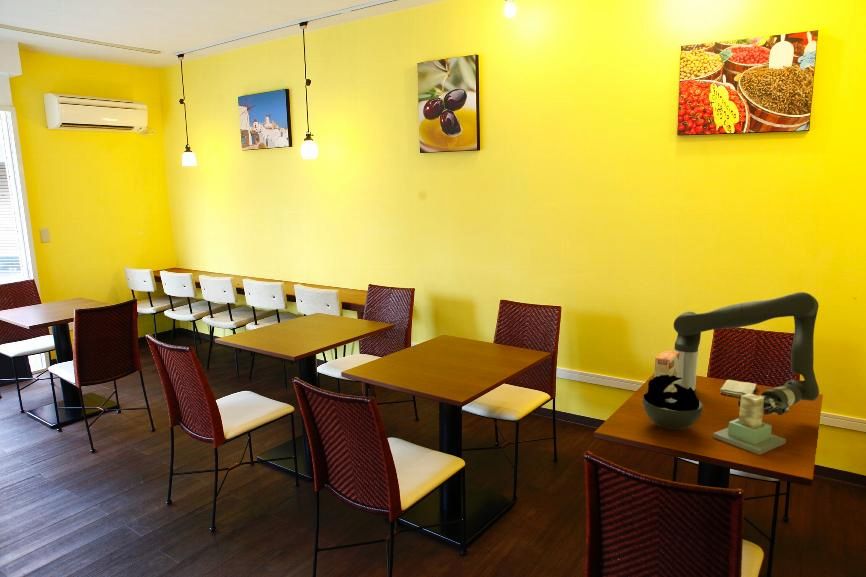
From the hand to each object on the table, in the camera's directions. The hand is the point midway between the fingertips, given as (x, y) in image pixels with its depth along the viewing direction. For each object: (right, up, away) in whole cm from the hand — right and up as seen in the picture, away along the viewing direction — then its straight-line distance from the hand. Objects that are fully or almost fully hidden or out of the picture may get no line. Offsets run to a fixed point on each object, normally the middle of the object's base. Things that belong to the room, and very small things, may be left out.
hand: (752, 407), depth 193 cm
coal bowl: (-22, -10, +12) cm, 27 cm away
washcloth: (+22, -4, +50) cm, 55 cm away
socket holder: (0, -11, +1) cm, 12 cm away
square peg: (0, -10, +1) cm, 10 cm away
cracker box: (-16, -6, +34) cm, 38 cm away
